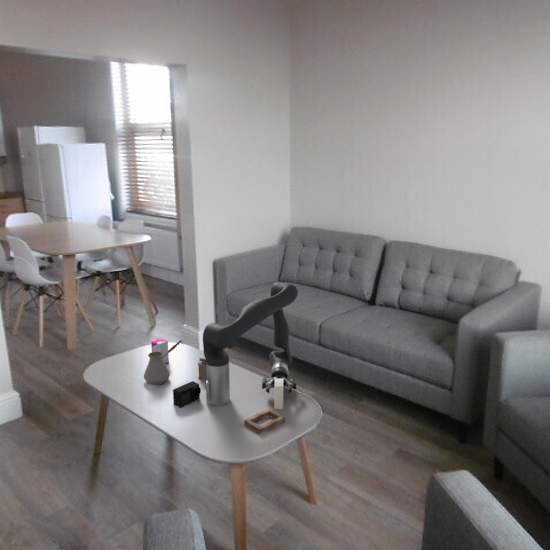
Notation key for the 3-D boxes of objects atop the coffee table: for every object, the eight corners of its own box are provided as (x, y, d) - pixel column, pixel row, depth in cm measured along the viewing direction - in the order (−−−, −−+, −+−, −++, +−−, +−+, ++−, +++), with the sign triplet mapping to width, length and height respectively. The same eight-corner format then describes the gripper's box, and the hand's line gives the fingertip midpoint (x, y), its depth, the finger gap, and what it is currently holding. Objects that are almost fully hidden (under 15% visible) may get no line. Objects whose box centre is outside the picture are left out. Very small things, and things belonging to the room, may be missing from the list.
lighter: (216, 378, 237) (216, 357, 235) (213, 381, 234) (213, 360, 232) (200, 376, 239) (199, 355, 237) (197, 379, 236) (196, 358, 234)
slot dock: (260, 434, 193) (260, 429, 192) (244, 424, 199) (244, 420, 198) (285, 421, 201) (285, 416, 201) (269, 412, 208) (269, 408, 207)
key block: (274, 409, 211) (274, 386, 208) (274, 400, 217) (274, 378, 215) (283, 409, 211) (283, 386, 208) (283, 400, 217) (283, 378, 215)
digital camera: (181, 409, 210) (181, 393, 209) (173, 404, 214) (172, 389, 212) (201, 400, 218) (201, 384, 216) (193, 395, 221) (192, 380, 220)
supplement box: (169, 362, 254) (168, 340, 251) (160, 366, 249) (159, 344, 246) (160, 359, 257) (159, 337, 254) (151, 364, 252) (150, 341, 249)
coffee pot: (154, 389, 227) (152, 357, 223) (138, 381, 234) (136, 350, 230) (192, 372, 243) (190, 342, 239) (175, 366, 250) (174, 336, 246)
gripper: (263, 365, 227) (261, 382, 212) (296, 366, 227) (296, 383, 211) (263, 381, 229) (261, 399, 213) (296, 382, 229) (296, 400, 213)
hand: (278, 391), depth 212 cm, fingers open, 8 cm apart
